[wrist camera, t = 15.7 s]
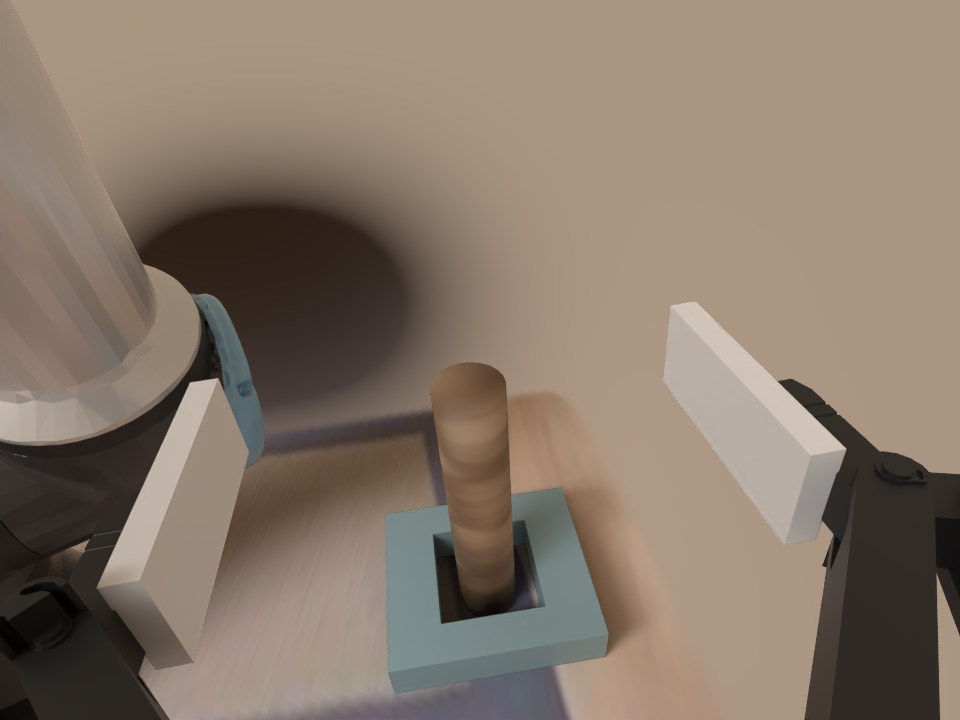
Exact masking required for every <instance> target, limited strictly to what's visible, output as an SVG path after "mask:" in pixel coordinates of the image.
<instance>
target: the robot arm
mask: <svg viewBox="0 0 960 720" xmlns="http://www.w3.org/2000/svg"><path fill="white" fill-rule="evenodd" d="M663 382H664V383H665V384H666V386H667V387H668V389H669V390H670V391H671V393H672V394H673V395H674V397H675V398H676V399H677V401H678V402H679V403H680V405H681V406H682V407H683V409H684V410H685V412H686V413H687V414H688V416H689V417H690V418H691V420H692V421H693V422H694V424H695V425H696V426H697V428H698V429H699V430H700V432H701V433H702V434H703V436H704V437H705V439H706V440H707V441H708V443H709V444H710V445H711V447H712V448H713V449H714V451H715V452H716V454H717V455H718V456H719V458H720V459H721V460H722V462H723V463H724V464H725V466H726V467H727V468H728V470H729V471H730V472H731V474H732V475H733V476H734V478H735V479H736V481H737V482H738V483H739V485H740V486H741V487H742V489H743V490H744V491H745V493H746V494H747V495H748V497H749V498H750V499H751V501H752V502H753V504H754V505H755V506H756V508H757V509H758V510H759V512H760V513H761V514H762V516H763V517H764V518H765V520H766V521H767V522H768V524H769V525H770V526H771V528H772V529H773V531H774V532H775V533H776V535H777V536H778V537H779V539H780V540H781V542H782V543H783V544H784V545H790V544H795V543H799V542H805V541H809V540H815V539H816V538H817V535H818V532H819V529H820V526H821V523H822V521H823V522H824V523H825V524H826V526H827V527H828V528H829V529H830V530H831V532H832V533H833V534H834V535H833V538H832V540H831V544H830V546H829V549H828V552H827V554H826V557H825V560H824V563H823V565H822V566H824V567H827V569H826V577H825V583H824V590H823V597H822V604H821V610H820V618H819V624H818V631H817V638H816V645H815V651H814V658H813V665H812V672H811V679H810V686H809V693H808V700H807V707H806V713H805V720H940V704H939V663H938V623H937V622H938V621H937V579H936V573H937V575H938V578H939V581H940V583H941V586H942V589H943V591H944V594H945V597H946V600H947V602H948V605H949V607H950V610H951V613H952V616H953V619H954V621H955V624H956V627H957V629H958V632H959V634H960V474H946V473H931V472H928V471H927V470H926V469H925V468H924V466H922V465H921V464H919V463H917V462H916V461H914V460H913V459H911V458H908V457H905V456H903V455H900V454H897V453H890V452H884V451H882V452H880V451H879V450H877V449H876V448H875V447H874V446H873V445H872V444H871V443H870V442H869V441H868V440H867V439H865V438H864V437H863V436H862V435H861V434H860V433H859V432H858V431H857V430H856V429H855V428H853V427H852V426H851V425H850V424H849V423H848V422H847V421H846V420H845V419H843V418H842V417H841V416H840V415H837V412H836V411H835V410H834V409H833V408H831V406H829V405H826V404H825V401H824V400H823V399H822V398H821V397H820V396H819V395H817V394H816V393H815V392H814V391H813V390H812V389H810V388H808V387H807V386H805V385H803V384H801V383H799V382H797V381H795V380H793V379H788V380H782V381H776V380H775V379H774V378H773V377H772V376H771V375H770V374H769V373H768V372H767V371H766V370H765V369H764V368H763V367H762V366H761V365H760V364H759V363H758V362H757V361H756V360H755V359H754V358H753V357H751V355H749V353H747V352H746V351H745V350H744V349H743V348H742V347H741V346H740V345H739V344H738V343H737V342H736V341H735V340H734V339H733V338H732V337H731V336H730V335H729V334H728V333H727V332H726V331H725V330H724V329H723V328H722V327H721V326H720V325H719V324H718V323H717V322H715V320H713V318H712V317H711V316H709V315H708V314H707V313H706V312H705V311H704V310H703V309H702V308H701V307H700V306H699V305H698V304H697V303H696V302H690V303H685V304H678V305H672V306H671V307H670V317H669V327H668V337H667V347H666V358H665V367H664V378H663ZM264 443H265V433H264V424H263V418H262V413H261V408H260V404H259V401H258V397H257V393H256V391H255V389H254V387H253V385H252V379H251V375H250V370H249V366H248V363H247V360H246V357H245V354H244V351H243V349H242V346H241V343H240V340H239V338H238V336H237V333H236V331H235V328H234V326H233V324H232V322H231V320H230V318H229V316H228V314H227V312H226V310H225V309H224V307H223V306H222V304H221V303H220V301H219V300H218V299H216V298H215V297H214V296H212V295H208V294H200V295H195V294H189V293H188V292H187V291H186V289H185V288H184V287H183V286H182V285H181V284H180V283H179V282H178V281H177V280H175V279H174V278H173V277H171V276H169V275H168V274H166V273H164V272H162V271H160V270H158V269H156V268H153V267H150V266H147V265H144V264H142V262H141V261H140V258H139V257H138V254H137V252H136V250H135V248H134V246H133V244H132V242H131V240H130V238H129V236H128V234H127V232H126V230H125V228H124V226H123V224H122V222H121V220H120V218H119V216H118V214H117V212H116V210H115V208H114V206H113V204H112V202H111V200H110V198H109V196H108V194H107V192H106V190H105V188H104V186H103V184H102V182H101V180H100V178H99V176H98V174H97V172H96V170H95V168H94V166H93V164H92V162H91V160H90V158H89V156H88V154H87V152H86V150H85V148H84V146H83V144H82V142H81V140H80V138H79V136H78V134H77V132H76V130H75V128H74V126H73V124H72V122H71V120H70V118H69V116H68V114H67V112H66V110H65V107H64V106H63V104H62V101H61V99H60V97H59V95H58V93H57V91H56V89H55V87H54V85H53V83H52V81H51V79H50V77H49V75H48V73H47V71H46V69H45V67H44V65H43V63H42V61H41V59H40V57H39V55H38V53H37V51H36V49H35V47H34V45H33V43H32V41H31V39H30V37H29V35H28V33H27V31H26V30H25V27H24V25H23V23H22V21H21V19H20V17H19V15H18V13H17V11H16V9H15V7H14V5H13V3H12V1H11V0H0V720H170V719H169V718H168V716H167V715H166V713H165V712H164V710H163V709H162V708H161V706H160V705H159V703H158V702H157V700H156V699H155V697H154V696H153V694H152V693H151V691H150V690H149V688H148V687H147V685H146V684H145V682H144V681H143V679H142V678H141V677H140V676H139V671H140V668H141V665H142V662H143V659H144V656H145V655H146V657H147V658H148V659H149V661H150V662H151V664H152V665H153V666H154V668H155V669H156V670H158V669H163V668H168V667H173V666H178V665H183V664H188V663H193V662H194V659H195V655H196V652H197V648H198V644H199V640H200V636H201V633H202V629H203V625H204V621H205V617H206V614H207V610H208V606H209V602H210V598H211V594H212V591H213V587H214V583H215V579H216V575H217V572H218V568H219V564H220V560H221V556H222V553H223V549H224V545H225V541H226V537H227V533H228V530H229V526H230V522H231V518H232V514H233V511H234V507H235V503H236V499H237V495H238V492H239V488H240V484H241V480H242V476H243V472H244V470H245V469H247V468H248V467H250V466H252V465H253V464H254V463H255V462H256V461H257V460H258V459H259V457H260V455H261V454H262V451H263V448H264ZM89 539H90V540H89ZM87 540H89V542H88V544H87V546H86V548H85V553H82V552H79V551H77V550H75V549H72V548H71V547H73V546H75V545H78V544H80V543H82V542H84V541H87Z"/></svg>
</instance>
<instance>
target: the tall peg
mask: <svg viewBox="0 0 960 720" xmlns="http://www.w3.org/2000/svg"><path fill="white" fill-rule="evenodd" d="M430 394H431V401H432V408H433V414H434V421H435V427H436V434H437V440H438V447H439V454H440V460H441V467H442V473H443V480H444V486H445V493H446V499H447V506H448V512H449V519H450V525H451V532H452V538H453V545H454V551H455V558H456V564H457V571H458V577H459V584H460V591H461V597H462V601H463V604H464V605H465V607H466V608H467V610H468V611H469V612H471V613H472V614H474V615H476V616H478V617H486V616H492V615H498V614H504V613H505V612H506V611H507V610H508V609H509V608H510V607H511V606H512V604H513V602H514V599H515V592H516V591H515V569H514V547H513V526H512V504H511V482H510V460H509V439H508V417H507V395H506V381H505V379H504V377H503V375H502V374H501V373H500V372H499V371H498V370H496V369H495V368H493V367H491V366H488V365H485V364H481V363H461V364H457V365H454V366H451V367H448V368H447V369H444V370H443V371H441V372H440V373H439V374H438V375H437V376H436V377H435V378H434V379H433V381H432V383H431V386H430Z"/></svg>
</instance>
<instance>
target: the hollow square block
mask: <svg viewBox="0 0 960 720" xmlns="http://www.w3.org/2000/svg"><path fill="white" fill-rule="evenodd" d="M511 504H512V526H513V545H518V544H524V543H525V544H526V549H527V553H528V557H529V561H530V566H531V570H532V574H533V578H534V583H535V587H536V591H537V595H538V600H539V604H540V607H539V608H533V609H527V610H521V611H515V612H510V613H504V614H498V615H492V616H486V617H480V618H474V619H468V620H462V621H456V622H450V623H444V624H443V616H442V606H441V595H440V584H439V574H438V563H437V557H443V556H449V555H455V551H454V545H453V538H452V532H451V525H450V519H449V512H448V506H447V505H443V506H436V507H430V508H423V509H417V510H410V511H404V512H397V513H391V514H385V521H386V584H387V646H388V674H389V677H390V680H391V683H392V686H393V688H394V691H395V694H396V693H402V692H407V691H413V690H419V689H424V688H430V687H436V686H441V685H447V684H453V683H458V682H464V681H470V680H475V679H481V678H487V677H492V676H498V675H504V674H509V673H515V672H521V671H526V670H532V669H538V668H543V667H549V666H555V665H561V664H566V663H572V662H578V661H583V660H589V659H595V658H600V657H606V651H607V644H608V637H609V633H608V630H607V627H606V623H605V620H604V617H603V614H602V611H601V608H600V605H599V602H598V599H597V595H596V592H595V589H594V586H593V583H592V580H591V577H590V574H589V571H588V567H587V564H586V561H585V558H584V555H583V552H582V549H581V546H580V543H579V539H578V536H577V533H576V530H575V527H574V524H573V521H572V518H571V515H570V511H569V508H568V505H567V502H566V499H565V496H564V493H563V490H562V487H560V488H553V489H547V490H540V491H534V492H527V493H521V494H514V495H511Z"/></svg>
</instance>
